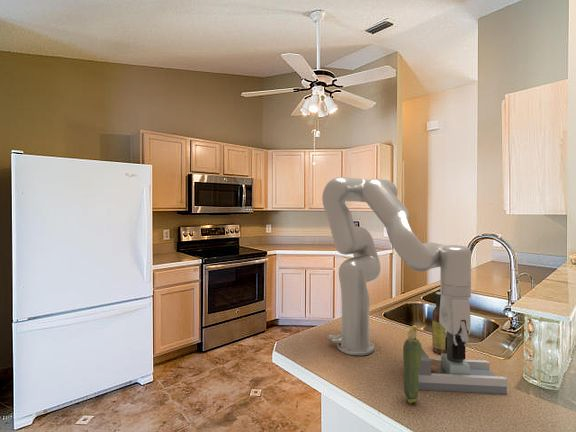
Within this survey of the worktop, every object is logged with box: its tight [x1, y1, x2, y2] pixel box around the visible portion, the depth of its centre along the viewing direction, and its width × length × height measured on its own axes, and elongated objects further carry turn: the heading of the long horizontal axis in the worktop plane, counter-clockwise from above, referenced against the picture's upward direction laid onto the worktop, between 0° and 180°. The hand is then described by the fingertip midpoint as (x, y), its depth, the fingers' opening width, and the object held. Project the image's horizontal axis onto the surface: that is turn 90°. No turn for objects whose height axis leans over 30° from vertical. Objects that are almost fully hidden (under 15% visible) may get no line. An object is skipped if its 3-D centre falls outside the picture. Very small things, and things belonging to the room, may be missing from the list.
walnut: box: [430, 359, 441, 374], centre depth 89 cm, size 4×4×3 cm
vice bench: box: [418, 348, 508, 395], centre depth 89 cm, size 23×10×8 cm, turn 84°
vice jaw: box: [440, 331, 470, 375], centre depth 88 cm, size 5×7×12 cm
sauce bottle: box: [431, 291, 447, 355], centre depth 107 cm, size 6×6×20 cm
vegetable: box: [402, 324, 423, 405], centre depth 80 cm, size 4×4×20 cm
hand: (455, 354), depth 88 cm, fingers closed on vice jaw, 4 cm apart
